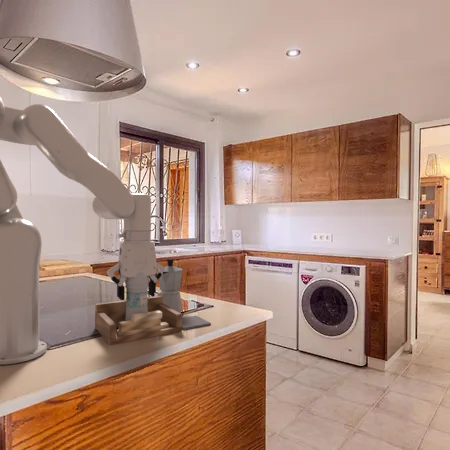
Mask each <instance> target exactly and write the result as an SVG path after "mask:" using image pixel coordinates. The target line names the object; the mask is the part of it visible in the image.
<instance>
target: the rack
mask: <svg viewBox="0 0 450 450" xmlns="http://www.w3.org/2000/svg"><path fill="white" fill-rule="evenodd" d="M94 305H95V307H94V308H95V309H94V313H95V315H94V316H95V317H94V321H95V324H94V325H95V326H94V329H96V331H97V330H98V331H99V332H100V333H99V332H98V331H97V332H98V333H99V334H100V335H101V337H102V338H103V339H104V340H105V341H106V342H107V344H108V345H110V346H111V345H115V344H122V343H127V342H131V341H132V342H133V341H137V340H142V339H147V338H152V337H153V338H154V337H159V336H163V335H169V334H173V333H179V332H182V330H183V329H182V318H183V317H182V316H183V314H182V313H179V312H178V311H176V310H174V309H172V308H170V307H169V306H167V305H165V304H163V303H162V296H159V295H157V296H156V295H155V296H154V297H152V296H149V297H148V296H147V310H148V312H152V311H161V312H162V318H161V322H166V323H168V324H169V328H165V329H160V330H154V331H149V332H143V333H137V334H132V335H126V336H121V337H117V327H119V322H123V321H125V318H126V299H124V300H118V301H117V300H115V301H109V302H108V301H107V302H100V303H99V302H98V303H95V304H94Z"/></svg>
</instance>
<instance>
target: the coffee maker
mask: <svg viewBox="0 0 450 450" xmlns="http://www.w3.org/2000/svg"><path fill="white" fill-rule="evenodd" d="M166 262H167V266H164V267H165V270H164V272H163V273H162V276H161V277H160V278H159V279H158V285H159V290H160V292H159V295H158V296H162V303H163V304H165V305H167V306H169V307H170V308H172V309H174V310H176V311H178V312H179V313H180V312H181V311H183V306H182V305H183V304H182V299H181V298H182V297H181V292H180V289H181V284H182V276H183V268H182V267H180V266H179V265H177V266H176V265H175V266H174V258H167V259H166ZM183 312H184V311H183Z"/></svg>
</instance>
